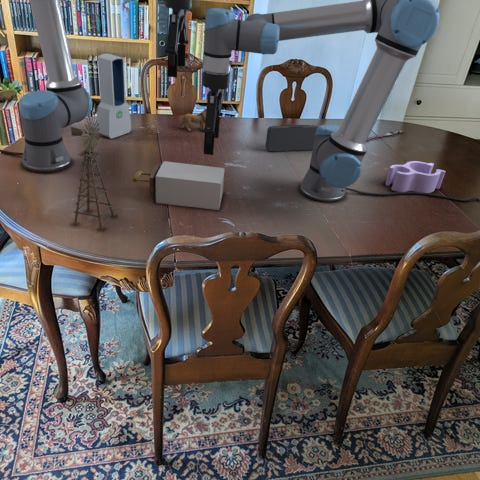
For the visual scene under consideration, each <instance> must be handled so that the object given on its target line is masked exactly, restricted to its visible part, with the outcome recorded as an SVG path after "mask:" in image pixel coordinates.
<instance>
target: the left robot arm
mask: <svg viewBox="0 0 480 480" xmlns="http://www.w3.org/2000/svg"><path fill="white" fill-rule="evenodd" d="M29 2H30V7H31V12H32V17H33V21H34V25H35V28H36V33H37V37H38V41H39V45H40V49H41V53H42V57H43V62H44V67H45V70H46V74H47V78H48V81H47V83H46V84H45V90H44V89H43V90H42V89H40V90H37V91H36V90H33V91H30V92H27V93H25V94H23V95H22V96H21V97H20V99H19V102H18V105H19V110H18V111H19V115H20V120H21V126H22V132H23V136H24V148H23V152H15V151H14V152H13V151H7V150H3V149H0V153H3V154H7V155H13V156H22V158H21V161H22V166H23V168H24V169H25V170H27V171H29V172H33V173H39V174H46V173H56V172H61V171H63V170H66V169H67V168H69V167H70V166H71V163H72V159H71V155H70V153H69V151H68V150H67V149H68V148H67V147H66V145H65V143H64V140H63V132H62V129H64V128H67V127H69V126H72V125H74V124H76V123H80V122H82V121H83V120H84V119H87V117H88V116H89V115H90V114H91V112H92V109H93V99H92V96H91V94H90V93H89V91H87V88H85V87H84V86H83V85H82V81H81V80H80V79H78V78H77V77H76V75H75V70H74V65H73V64H74V63H73V59H72V56H71V50H70V46H69V41H68V37H67V31H66V27H65V22H64V18H63V17H64V16H63V13H62V8H61V3H60V0H29ZM164 7H165V8H168V9H171V10H172V11H171V13H169V15H168V29H167V39H166V48H165V49H164V53H165V54H167V76H166V77H168V78H175V79H176V78H178V67H181V68H185V67H186V53H187V45H189V40H188V27H187V26H188V24H187V23H188V22H187V13H188V12H187V11H189V10H191V9H192V8H193V0H164Z"/></svg>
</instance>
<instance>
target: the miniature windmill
mask: <svg viewBox="0 0 480 480" xmlns="http://www.w3.org/2000/svg"><path fill="white" fill-rule="evenodd" d="M89 119H91V121H89ZM89 119H88V118H86V122H87V123H86V122H84V126H85V128H84V127H82V129H80V128H77V127H73V126H70V131H71V136H72V137H81V136H82V137H83V138H82V140H81V141H82V146H83V147H84V150H83V151H81V152H80V153H78V154H77V155H78V156H80V157H83V161H82V162H81V164H82V168H81V171H80V173H81V175H80V178H79V187H78V193H77V195H76V196H77V201H76V202H75V205H76V207H75V208H76V209H75V210H74V212H73V213H74V221H73V224H74V225H77V224H78V217H79V215H83V216H89V217H94V218H98V224H99V229H100V230H103V229H104V228H103V222H102V221H103V220H102V217H103V216H104V215H105V214H106V213H107V212H108V211H110V214H111V216H112V217H115V212H114V210H113V203H111V201H110V197H109V193H108V192H107V191H108V188H106V185H105V182H104V179H103V174H102V173H101V169H100V166H99V164H98V163H99V160H97V157H98V156H100V155H101V154H102V153H103V152H102V151H100V150H95V149H97V147H96V146H98V142H97V141H99V140H100V138H99V137H98V136H100V133H98V130H99V128H98V129H97V126H98V125H99V123H98V124H97V126H96V123H97V119H96V117H94V116H93V115H92V116H89ZM94 167H96V170H97V173H95V172H94ZM85 170H87V172H86V174H85ZM90 171H91V172H90ZM90 175H91V179H92V180H90ZM95 176H98V177H97V178H95ZM99 180H100V182H101V186H102V187H100V186H97V184H96V183H97V182H98V181H99ZM90 183H92V185H90ZM85 185H86V187H85V188H84V189H83V187H84V186H85ZM91 188H93V192H94V196H91V194H90V192H91V191H90V189H91ZM97 189H98V190H103V191H102V192H101V193H100V194H99V195H98V191H97ZM85 191H86V193H85ZM83 193H85V194H83ZM103 195H105V198H106V201H107V202H102V201H99V198H100V197H102V196H103ZM85 198H86V200H85V201H84V202H83V203H82V204H81V201H83V200H84V199H85ZM91 199H94V200H91ZM90 203H94V204H96V205H95V206H96V211H97V214H92V213H91V214H90V213H85V212H82V211H81V212H80V209H81V208H83V207H84V205H86V207H87V208H86V210H87V212H90V209H91V208H90V206H91V205H90ZM80 204H81V205H80ZM100 205H105V206H108V207H107V208H106V209H105V210H104V211H103V212H102V213H101V210H100Z"/></svg>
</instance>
